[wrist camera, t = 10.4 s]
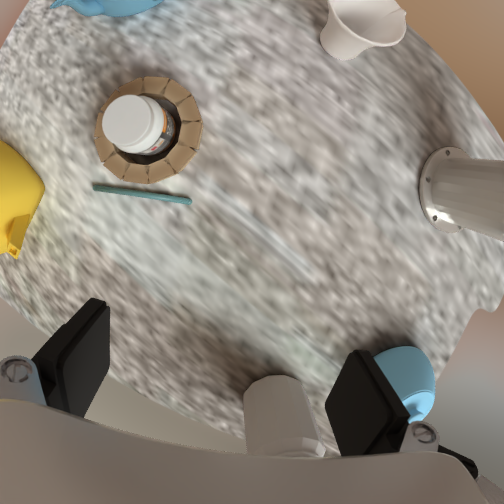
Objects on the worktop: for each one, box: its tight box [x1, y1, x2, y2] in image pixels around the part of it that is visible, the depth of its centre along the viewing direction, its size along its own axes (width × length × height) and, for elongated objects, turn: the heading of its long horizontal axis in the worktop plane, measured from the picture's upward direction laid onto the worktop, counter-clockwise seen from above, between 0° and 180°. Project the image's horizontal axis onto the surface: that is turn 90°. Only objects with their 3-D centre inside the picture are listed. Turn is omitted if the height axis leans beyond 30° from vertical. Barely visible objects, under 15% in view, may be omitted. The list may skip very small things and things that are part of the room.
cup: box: [320, 0, 406, 60], centre depth 25 cm, size 9×9×10 cm
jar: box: [243, 375, 326, 457], centre depth 34 cm, size 10×10×18 cm
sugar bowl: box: [373, 346, 435, 424], centre depth 39 cm, size 15×15×12 cm
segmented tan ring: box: [94, 76, 203, 184], centre depth 30 cm, size 12×12×3 cm
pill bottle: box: [102, 95, 176, 155], centre depth 27 cm, size 6×6×10 cm
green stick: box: [93, 185, 192, 205], centre depth 33 cm, size 13×1×1 cm, turn 79°
